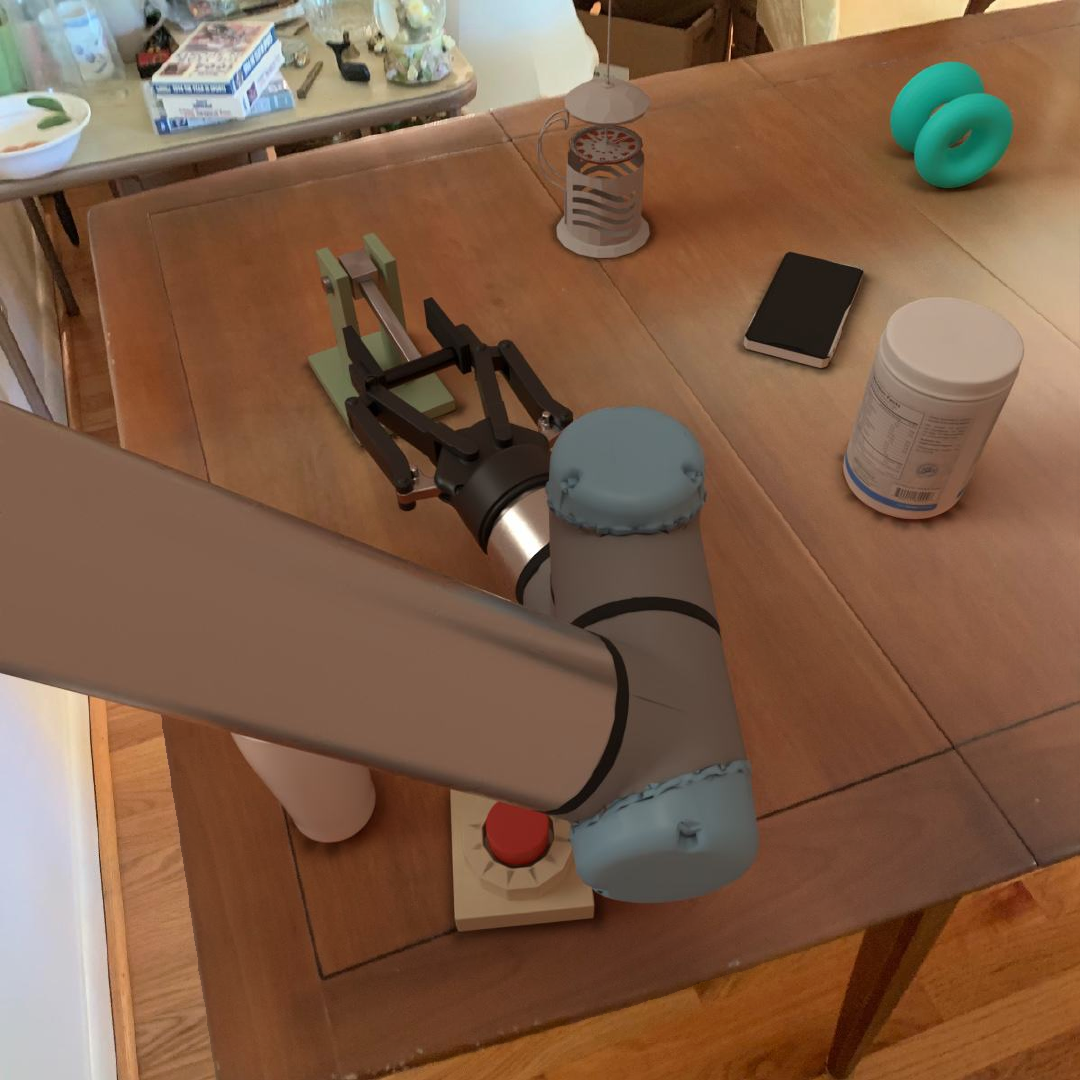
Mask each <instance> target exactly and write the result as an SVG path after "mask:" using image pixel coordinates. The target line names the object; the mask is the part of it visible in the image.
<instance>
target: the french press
mask: <svg viewBox="0 0 1080 1080" xmlns="http://www.w3.org/2000/svg"><path fill="white" fill-rule="evenodd" d="M611 25H612V0H608V21H607V51H606V52H607V54H606V55H607V57H606V77H605V78H604V77H603V78H596V79H592V80H589V81H585V82H582V83H580V84H579V85H577V86H575V87H574V88H572V89H571V90H569V92H568V93H567V94H566V95H565V96H564V99H563V100H564V108H561V109H558V110H557V111H554V112H552V113H551V114H550V115H549V116H548V117H547V118H546V119H545V121H544V122H543V125H542V126H541V127H540V132H539V135H538V138H537V141H536V145H535V149H536V159H537V163H538V167H539V169H540V171H541V173H542V175H543V176H544V178H546V179H547V181H549V183H551V184H553V185H554V186H556V187H558V188H560V189H561V190H562V191H563V213H564V214H563V216H562V217H561V219H560V221H559V222H558V224H557V225H556V239H558V240H559V242H560V243H561V244H562V245H563V246H564V248H566V249H568V250H570V251H571V252H573V253H576V254H577V255H580V256H584V257H590V258H594V259H604V258H605V259H606V258H609V259H610V258H611V259H612V258H618V257H621V256H625V255H628V254H629V255H630V254H633V253H634V252H635V251H637V250H638V249H640V248H641V247H643V246H644V245H645V244H646V242H647V241H648V239H649V237H650V236H651V231H650V227H649V222H648V221H647V220H646V219H645V218H644V217H643V216H642V207H643V192H644V191H643V189H644V175H645V154H644V151H643V150H642V148H643V146H644V143H643V138H642V137H641V136H640V135H639V134H638V133H637V132H636V131H635V130H633V129H630V128H628V127H626V126H623V125H627V124H633V123H634V122H636V121H638V120H640V119H641V118H643V117H644V115H645V114H646V113H647V111H648V110H649V108H650V107H651V99H650V96H649V95H648V93H646V92H645V91H644V89H642V88H641V87H639V86H638V85H636V84H634V83H631V82H628V81H626V80H623V79H620V78H615V77H614V78H613V77H611V78H610V62H611V61H610V59H611V58H610V57H611V55H610V54H611V30H612V29H611V27H612V26H611ZM562 112H565V114H566V115H565V116H566V118H565V117H563V116H559V117H557V118H555V119H553V118H554V117H555V115H558V114H561V113H562ZM570 116H571V117H573V118H574V119H576V120H577V121H580V122H582V123H585V124H588V125H589V126H586V127H585V126H583V128H581V129H579V130H577V131H576V132H574V133H573V134H572V136H571V137H570V138H569V140H568V146H569V150H568V151H567V157H565V159H566V161H565V162H566V167H565V168H566V170H565V171H566V177H565V176H563V175H561V174H560V173H558V172H556V171H555V170H554V169H553V168H552V167H551V166H550V165H549V164H548V162H547V159H546V157H545V154H544V151H543V149H544V148H543V135H544V133H546V132H545V131H547V130H548V128H549V127H551V125H552V124H554V123H556V122H559V121H562V122H563V130H564V131H567V130H568V128H569V125H570ZM550 120H551V121H550ZM540 156H541V159H540ZM541 160H542V161H543V163H544V166H545V167H546V168H547V170H549V171H550V172H551V173H552V174H553V175H555V176H556V177H558V178H560V179H562V180H563V181H564V182H565V183H566V184H565V185H566V188H565V187H564V186H562V185H560V184H559V183H557V182H556V181H554V180H552V178H550V176H548V175H547V174H546V172H545V170H544V168H543V166H542V162H541ZM626 162H629V163H630V164H632V165H633V166H634V167H636V168H637V169H636V170H633V169H632V168H631V167H629V166H628V165H627V164H625V163H626ZM587 164H593V166H590V167H588V168H586V169H585V170H583V171H582V172H581V170H582V169H583V168H584V167H585V166H586V165H587ZM612 165H616V166H618V167H619V168H620V169H621V170H622V171H624V172H625V173H627V174H626V175H624V174H622V173H621V172H620V171H618V170H617V169H616V168H614V167H613V166H612ZM598 171H600V172H606V173H610V174H611V175H613V176H615V177H610V176H605V175H596V176H588V175H592V174H593V173H596V172H598ZM587 187H588V188H589V187H590V188H591V189H588V190H586V191H583V190H584V189H586V188H587ZM634 192H635V194H633V193H634ZM624 197H628V198H629V199H630V200H626V199H625V198H624ZM633 204H634V205H633Z"/></svg>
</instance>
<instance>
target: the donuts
mask: <svg viewBox="0 0 1080 1080" xmlns="http://www.w3.org/2000/svg"><path fill="white" fill-rule="evenodd" d="M985 92H986V91H985V86H984V82H983V79H982V77H981V75H980V74H979V72H978V71H976V69H975V68H973V67H972V66H971V65H969V64H966V63H965V62H964V63H963V62H961V61H944V62H939V63H936V64H932V65H930V66H928V67H926V68H924V69H923V70H921V71H920V72H918V73H917V74H915V75H914V76H913V77H912V78H911V79H910V80H909V81H907V82H906V84H905V85H904V86H903V87H902V89H901V90H900V92H899V93H898V94H897V96H896V99H894V102H893V104H892V105H893V106H892V108H891V112H890V116H889V117H890V118H889V123H890V124H889V126H890V127H889V128H890V132H891V135H892V138H893V139H894V141H895V142H896V144H897V145H898V146H899V147H900V148H901V149H903V150H905V151H906V152H908V153H911V154H913V161H914V165H915V168H916V171H917V173H918V174H919V176H920V177H921V178H922V179H923V180H924V182H926V183H928V184H929V185H931V186H933V187H936V188H942V189H955V188H961V187H963V186H966V185H969V184H972V183H974V182H975V181H977V180H979V179H980V178H982V177H983V176H985V175H986V174H988V173H989V172H990V171H991V170H992V169H993V168H994V167H995V166H997V164H998V163H999V162H1000V160H1001V159H1002V158H1003V156H1004V155H1005V153H1006V152H1007V150H1008V148H1009V146H1010V143H1011V140H1012V138H1013V132H1014V119H1013V115H1012V113H1011V110H1010V108H1009V106H1008V105H1007V104H1006V103H1005V102H1004V101H1003V100H1002V99H1001V98H999V97H997V96H995V95H992V94H990V93H985ZM940 106H941V107H940ZM937 109H938V110H937ZM969 132H970V133H969ZM967 134H969V135H968V137H967V138H966V139H965V140H964V141H963V142H961V143H960V144H959V145H957V146H956V144H957V143H958V142H960V141H961V140H963V138H964V137H965V136H967ZM954 145H955V146H954ZM953 146H954V147H953Z"/></svg>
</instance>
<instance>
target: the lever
mask: <svg viewBox="0 0 1080 1080" xmlns="http://www.w3.org/2000/svg"><path fill="white" fill-rule="evenodd" d="M337 261H338V263H339V264H340V265H341V267H342V268H343V269H344V271H345V272H346V273H347V275H348V278H349V282H350V287H351V292H352V297H353V301H354V302H355V301H358V300H362V299H364V300H365V302H366V303H367V305H368V306H369V308H370V309H371V311H372V312H373V314H374V316H375V317H376V319H377V321H378V320H379V321H378V323H379V322H380V324H381V325H382V327H383V328H384V330H385V332H386V333H387V335H388V336H389V338H390V339H391V341H392V343H393V344H394V346H395V347H396V349H397V351H398V352H399V354H400V355H401V357H402V359H403V360H404V362H405V363H403V364H401V365H398V366H395V367H393V368H390V369H387V370H384V371H383V372H384V373H385V374H386V380H387V385H388V390H390V389H393V388H396V387H398V386H401V385H404V384H406V383H409V382H411V381H414V380H417V379H419V378H422V377H425V376H427V375H430V374H433V373H435V374H436V373H438V372H441V371H443V370H446V369H448V368H451V367H454V366H456V365H457V364H458V362H459V361H458V356H457V353H456V351H455V349H454V348H453V347H452V346H449V347H447V348H444V349H443V348H441V349H439V350H436V351H433V352H431V353H428V354H425V355H422V354H421V353H420V352H418V351H419V350H418V348H417V347H416V345H415V344H414V342H413V340H412V339H411V337H410V336H409V334H408V332H407V333H406V331H405V330H404V328H403V327H402V325H401V324H400V322H399V320H398V319H397V317H396V316H395V314H394V313H393V311H392V310H391V308H390V306H389V305H388V303H387V302H386V300H385V299H384V297H383V296H382V294H381V292H380V286H379V278H378V270H377V268H376V267H375V265H374V264H373V262H372V261H371V259H370V258H369V256H368V254H367V253H366V251H365V247H361V248H358V249H356V250H352V251H350V252H347V253H343V254H341V255H338V256H337ZM407 334H408V335H407ZM420 354H421V355H422V356H421V355H420Z"/></svg>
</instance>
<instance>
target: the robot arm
mask: <svg viewBox="0 0 1080 1080" xmlns="http://www.w3.org/2000/svg"><path fill="white" fill-rule="evenodd" d="M422 300H423V308H424V309H423V310H424V315H425V323H426V329H427V330H428V332H429V333H430V334H431V335H432V337H433V338H434V339H435V341H436V342H437V344H439V346H440V347H441V349H444V348H447V347H449V346H452V347H453V348H454V349H455V351H456V353H457V356H458V361H459V362H458V364H457V365H455V366H456V368H457V369H458V370H459V371H460V373H461V374H462V375H463V376H464V375H467V374H470V373H472V372H473V371H474V372H473V373H474V381H475V382H476V386H477V390H478V393H479V394H478V395H479V399H480V402H481V406H482V411H483V414H484V418H483V419H481V420H479V421H477V422H475V423H474V424H472V425H471V426H469V427H463V428H458V429H456V430H454V429H453V428H452V427H450V426H449V425H447V424H446V423H445V422H443V421H439V422H436V421H435V420H433V419H430V418H429V417H427V416H426V415H424V414H423V413H421V412H420V411H418V410H417V409H415V408H414V407H412V406H411V405H410V404H408V403H407V402H405V401H404V400H402V399H401V398H399V397H398V396H396V395H395V394H394V393H392V392H391V391H389V390H388V385H387V380H386V374H385V373H384V372H383V370H382V369H381V367H380V366H379V364H378V363H377V362H376V360H375V359H374V357H373V356H372V354H371V353H370V351H369V350H368V349H367V347H366V346H365V344H364V343H363V341H362V340H361V338H360V337H359V336H358V334H357V333H356V331H355V330H354V328H353V327H352V325H350V326H347V327H344V328H342V331H343V335H344V340H345V344H346V349H347V353H348V357H349V358H350V360H351V361H352V363H353V364H350V365H349V373H350V378H351V382H352V385H353V387H354V388H355V390H356V391H357V393H358V394H359V396H358V397H356V396H352V397H349V398H347V399H346V400H345V403H344V404H345V408H346V412H347V416H348V421H349V425H350V429H351V431H352V432H353V433H354V435H355V436H356V437H357V439H358V440H359V441H360V442H361V444H362V445H363V446H362V447H363V448H364V449H365V450H366V452H367V453H368V454H369V456H370V457H371V458H372V460H373V461H374V463H376V465H377V466H378V468H379V469H380V470H381V472H382V473H383V474H384V476H385V477H386V478H387V479H388V481H389V482H390V484H391V485H392V486H393V487H394V490H395V494H396V500H397V505H398V508H399V509H400V511H402V512H411V511H413V510H415V509H416V507H417V501H421V500H427V499H434V498H438V499H439V500H440V501H441V502H443V503H445V504H446V505H449V506H450V507H452V508H453V509H454V510H455V512H456V513H457V515H458V517H459V518H460V520H461V522H463V524H464V526H465V527H466V528H467V530H468V531H469V533H470V534H471V536H472V537H473V539H474V540H475V542H476V543H477V544H478V546H479V548H480V549H481V551H482V553H484V554H485V555H486V556H487V558H488V560H489V562H490V563H491V566H493V567H494V570H495V571H496V572H497V574H498V576H500V578H501V580H502V581H503V583H504V585H505V586H506V587H507V589H508V591H509V592H510V594H511V595H512V597H513V598H514V600H515V601H512V600H510V599H508V598H505V597H502V596H500V595H498V594H495V593H492V592H490V591H487V590H485V589H482V588H479V587H477V586H475V585H472V584H470V583H467V582H464V581H462V580H459V579H456V578H454V577H452V576H449V575H447V574H444V573H441V572H439V571H436V570H434V569H431V568H429V567H427V566H424V565H421V564H418V563H416V562H414V561H411V560H408V559H406V558H403V557H401V556H398V555H395V554H393V553H390V552H388V551H385V550H383V549H381V548H378V547H375V546H373V545H370V544H368V543H365V542H364V541H360V540H358V539H356V538H352V537H350V536H348V535H345V534H343V533H340V532H337V531H335V530H332V529H330V528H328V527H325V526H322V525H319V524H317V523H314V522H313V521H312V522H311V521H310V520H306V519H304V518H301V517H299V516H297V515H294V514H291V513H289V512H286V511H283V510H282V509H279V508H276V507H274V506H271V505H268V504H266V503H265V502H264V503H263V502H261V501H258V500H256V499H253V498H251V497H248V496H246V495H243V494H240V493H238V492H235V491H233V490H231V489H228V488H225V487H223V486H221V485H218V484H215V483H213V482H210V481H207V480H205V479H202V478H200V477H197V476H195V475H192V474H189V473H187V472H185V471H183V470H180V469H177V468H174V467H172V466H169V465H168V464H165V463H162V462H160V461H157V460H154V459H151V458H149V457H147V456H145V455H141V454H139V453H136V452H134V451H131V450H129V449H126V448H124V447H122V446H121V447H120V446H118V445H116V444H114V443H111V442H108V441H106V440H103V439H100V438H99V437H96V436H93V435H90V434H88V433H85V432H83V431H80V430H77V429H75V428H74V427H73V428H72V427H70V426H68V425H65V424H63V423H60V422H57V421H56V420H52V419H49V418H47V417H44V416H42V415H40V414H37V413H34V412H31V411H29V410H27V409H24V408H22V407H19V406H17V405H14V404H12V403H9V402H7V401H4V400H1V399H0V674H1V675H2V674H3V675H6V676H10V677H13V678H14V677H15V678H17V679H21V680H24V681H25V680H26V681H28V682H32V683H37V684H40V685H41V684H42V685H44V686H48V687H52V688H56V689H61V690H63V691H64V690H65V691H69V692H72V693H76V694H78V695H79V694H80V695H84V696H88V697H91V698H95V699H100V700H103V701H107V702H110V703H115V704H118V705H121V706H125V707H131V708H134V709H139V710H142V711H146V712H149V713H153V714H157V715H161V716H165V717H169V718H174V719H177V720H180V721H185V722H187V723H188V722H189V723H193V724H195V725H199V726H204V727H207V728H212V729H215V730H220V731H223V732H227V733H230V732H231V733H235V734H238V735H242V736H246V737H250V738H254V739H258V740H262V741H266V742H269V743H273V744H277V745H281V746H285V747H289V748H293V749H297V750H300V751H304V752H308V753H312V754H316V755H320V756H324V757H328V758H331V759H335V760H339V761H343V762H347V763H351V764H355V765H359V766H363V767H366V768H370V770H373V771H374V770H375V771H379V772H382V773H386V774H390V775H395V776H398V777H401V778H406V779H410V780H413V781H416V782H421V783H425V784H429V785H433V786H436V787H440V788H445V789H448V790H450V789H452V790H456V791H459V792H463V793H467V794H471V795H475V796H479V797H483V798H487V799H491V800H494V801H498V802H502V803H506V804H510V805H514V806H518V807H522V808H525V809H529V810H533V811H537V812H540V813H544V814H546V815H549V816H552V817H555V818H558V819H563V820H566V821H568V822H569V823H570V833H569V837H568V842H569V843H571V846H572V850H573V855H574V861H575V866H576V871H577V874H578V876H579V877H580V878H581V879H582V881H583V882H584V884H586V885H588V886H590V887H592V890H593V892H595V893H598V894H599V895H601V896H603V897H604V898H607V899H610V900H614V901H620V902H626V903H634V904H663V903H672V902H673V903H674V902H678V901H680V902H681V901H685V900H691V899H694V898H699V897H702V896H705V895H708V894H710V893H714V892H716V891H719V890H720V889H723V888H725V887H726V886H729V885H731V884H733V883H734V882H736V881H738V880H740V878H742V877H744V876H745V874H746V873H747V872H748V871H749V870H750V869H751V867H752V866H753V864H754V863H755V862H756V859H757V856H758V853H759V847H760V836H759V835H760V834H759V829H758V822H757V816H756V808H755V807H756V806H755V800H754V799H755V798H754V789H753V783H752V782H753V781H752V775H753V772H754V771H753V767H752V765H751V761H750V760H749V757H748V754H747V750H746V745H745V740H744V736H743V731H742V726H741V722H740V718H739V717H740V716H739V713H738V708H737V703H736V699H735V694H734V690H733V686H732V680H731V677H730V676H731V675H730V672H729V668H728V663H727V658H726V653H725V648H724V645H723V638H722V634H721V627H720V623H719V617H718V613H717V612H718V611H717V608H716V607H717V606H716V601H715V597H714V591H713V587H712V582H711V576H710V572H709V567H708V562H707V556H706V552H705V547H704V546H705V545H704V542H703V537H702V530H701V511H703V509H704V506H705V503H706V502H707V497H708V494H707V489H706V487H705V484H706V483H705V480H706V468H707V467H706V464H707V463H706V456H705V451H704V450H703V448H702V445H701V442H700V441H699V440H698V437H696V435H695V433H694V432H693V431H692V430H691V429H690V428H689V427H688V426H687V425H685V424H684V423H683V422H681V421H680V420H678V419H677V418H675V417H673V416H672V415H670V414H667V413H666V412H663V411H661V410H658V409H655V408H652V407H647V406H642V405H629V406H623V405H619V406H615V407H613V406H606V407H600V408H598V409H595V410H591V411H589V412H587V413H584V414H583V415H580V416H579V417H577V418H576V419H574V413H573V411H572V410H571V409H570V408H568V407H567V406H565V405H563V404H562V403H560V402H559V401H557V400H556V399H554V398H553V396H552V395H551V393H550V392H549V390H548V389H547V388H546V386H545V384H544V383H543V382H542V380H541V379H540V378H539V377H538V374H537V373H536V372H535V371H534V369H533V368H532V367H531V365H530V364H529V362H528V361H527V359H526V358H525V357H524V355H523V354H522V353H521V351H520V350H519V348H518V347H517V345H516V344H515V343H514V342H513V340H510V339H502V340H500V341H498V343H497V345H494V346H493V345H491V346H490V345H488V343H487V344H486V343H485V342H482V341H481V340H480V339H479V338H478V336H477V335H476V334H475V332H474V331H473V330H472V328H470V326H469V325H467V324H466V323H459V324H457V325H455V324H454V323H453V321H452V320H451V319H450V318H449V316H448V315H447V313H446V312H445V311H444V310H443V308H441V306H440V305H439V304H438V303H437V301H436V300H435V299H434V298H433V297H432V296H431V297H428V298H425V299H422ZM496 372H499V373H500V374H501V376H502V377H503V378H504V380H505V381H506V383H507V384H508V386H509V388H510V389H511V390H512V392H513V393H514V395H515V397H516V398H517V400H518V401H519V402H520V404H521V405H522V406H523V408H524V410H525V412H526V413H527V414H528V415H529V418H531V420H532V421H533V423H534V424H535V426H536V428H537V430H534V429H531V428H528V427H525V426H522V425H519V424H516V423H512V422H510V419H509V416H508V412H507V407H506V405H505V401H504V400H503V398H502V397H503V396H502V393H501V390H500V386H499V381H498V378H497V374H496ZM379 422H380V423H381V424H382V425H384V426H385V427H387V428H388V429H389V430H391V431H392V432H394V434H395V435H396V436H397V437H399V438H401V439H402V440H403V441H405V442H406V443H408V444H409V445H410V446H412V447H413V448H415V449H416V450H418V451H419V452H420V453H422V454H423V455H424V456H426V457H427V458H428V460H429V461H430V463H431V464H432V465H433V466H434V467H435V472H434V475H433V476H428V475H425V474H424V472H423V471H422V470H421V469H419V468H418V465H416V464H411V465H410V462H409V460H408V458H407V456H406V455H405V453H404V451H403V450H402V449H401V447H399V444H397V442H396V441H395V440H394V439H393V437H392V436H391V435H389V434H388V433H387V431H386V430H385V429H384V428H383V426H382V425H381V424H380V423H379ZM350 429H349V430H350ZM351 431H350V432H351ZM352 432H351V433H352ZM354 435H353V436H354Z"/></svg>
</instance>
